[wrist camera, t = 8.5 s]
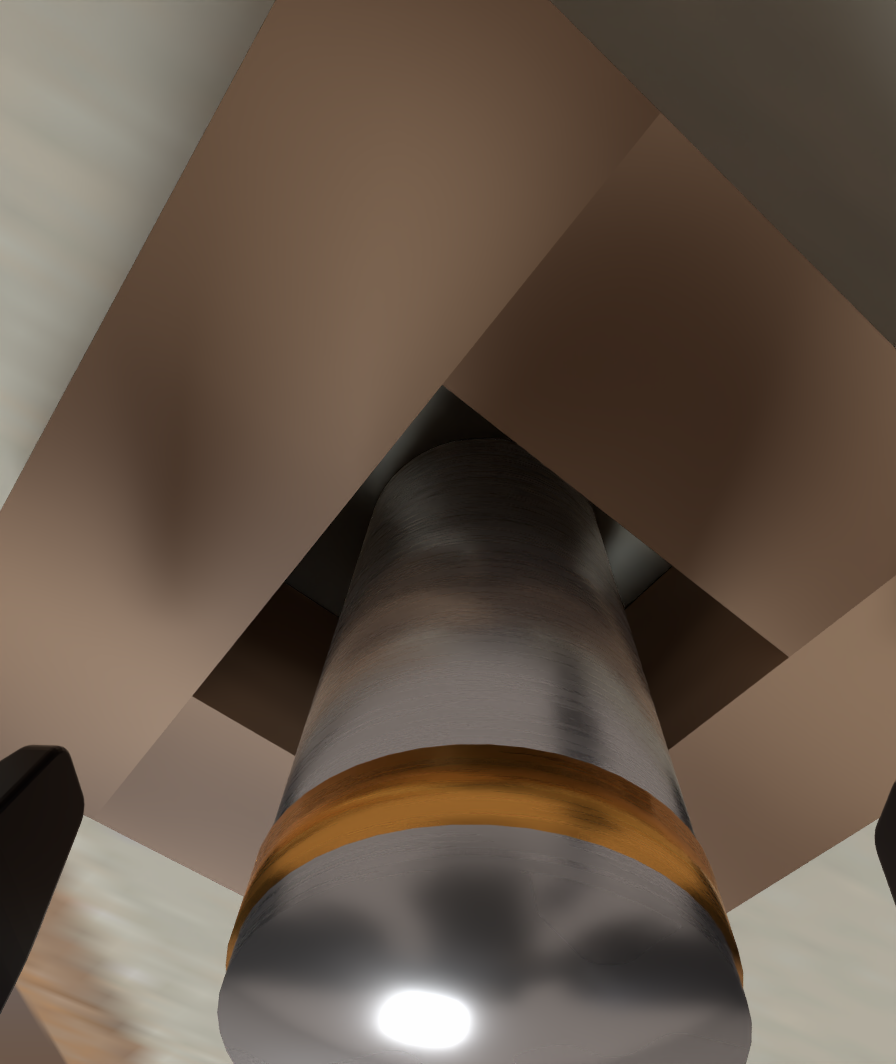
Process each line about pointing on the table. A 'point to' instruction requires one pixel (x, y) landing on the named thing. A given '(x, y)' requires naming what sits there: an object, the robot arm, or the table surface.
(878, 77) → the table surface
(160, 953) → the table surface
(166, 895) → the table surface
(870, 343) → the socket block
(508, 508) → the steel pin
